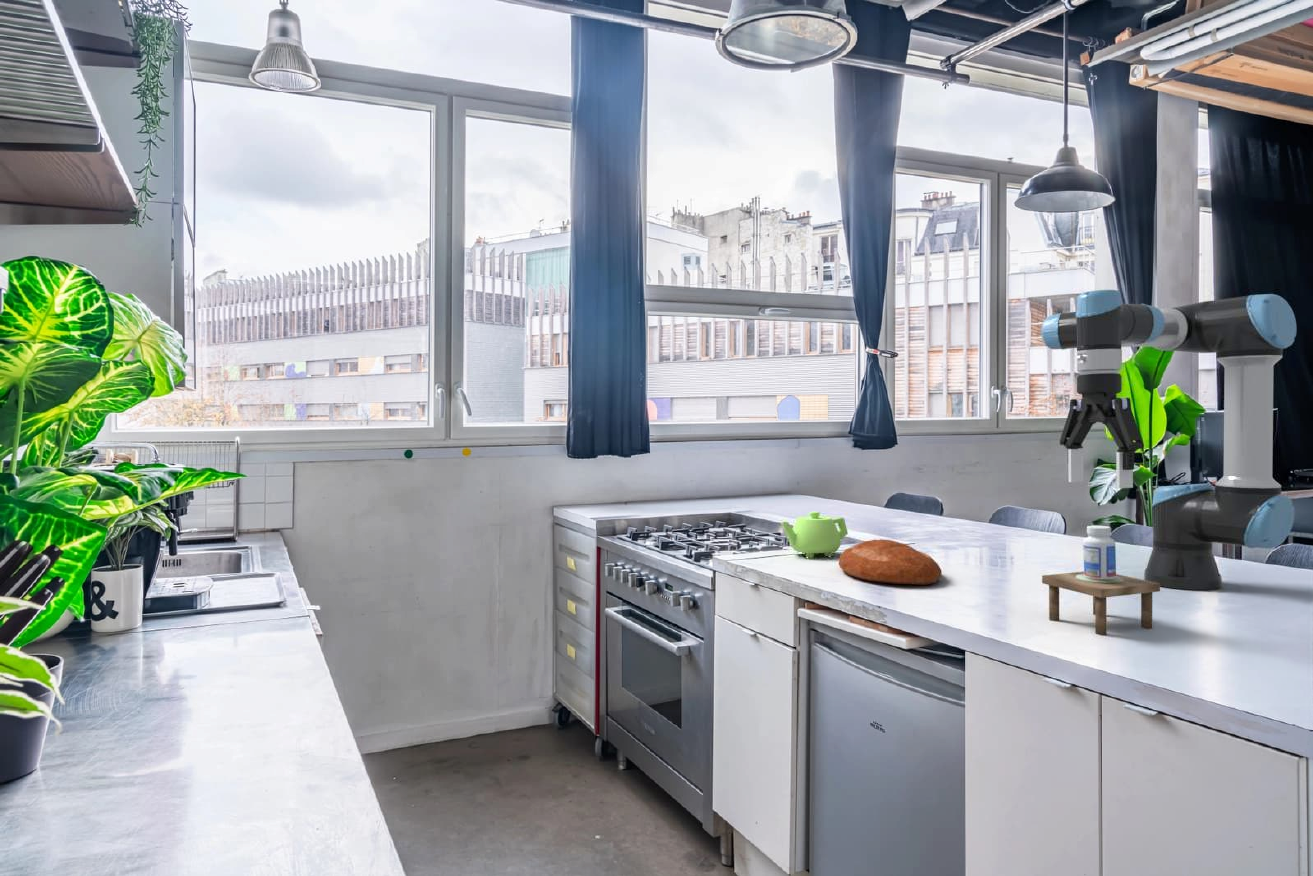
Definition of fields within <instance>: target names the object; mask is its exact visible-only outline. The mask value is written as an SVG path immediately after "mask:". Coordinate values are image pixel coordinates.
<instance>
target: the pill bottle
mask: <svg viewBox="0 0 1313 876" xmlns="http://www.w3.org/2000/svg"><path fill="white" fill-rule="evenodd" d="M1111 531H1112V530H1111V527H1110V526H1107V525H1106V526H1105V525H1087V526H1086V533H1087V535H1088V536H1087V537H1085V538H1084V539H1083V543H1082V544H1083V548H1082V550H1083V572H1084V576H1085V577H1086V578H1090V579H1097V580H1112V579H1115V578H1116V574H1117V558H1116V556H1117V554H1116V551H1117V550H1116V540H1114V539H1113V538H1111V536H1110V535H1112V532H1111Z"/></svg>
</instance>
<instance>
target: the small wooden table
mask: <svg viewBox="0 0 1313 876" xmlns="http://www.w3.org/2000/svg"><path fill="white" fill-rule="evenodd" d="M1041 583H1042V584H1044V585H1048V619H1049V620H1050V621H1053V622H1054V621H1055V622H1058V621H1060V589H1063V590H1067V591H1072V592H1075V593H1079V594H1084V595H1087V596H1090V597H1091V596H1092V615H1094V620H1095V621H1094V622H1095V623H1094V626H1095V627H1094V629H1095V630H1094V631H1095V634H1096V635H1100V636H1106V635H1107V627H1108V626H1107V598H1112V597H1113V598H1114V597H1120V596H1121V597H1122V596H1131V595H1139V594H1140V622H1141V623H1140V627H1141V628H1142V629H1146V630H1151V629H1152V630H1153V593H1157V592H1159V593H1160V592H1161V586H1160V583H1156V582H1151V581H1146V580H1144V579H1141V578H1137V577H1133V576H1132V577H1131V576H1128V575H1127V576H1126V575H1122V574H1118V573H1116V578H1115V579H1112V580H1097V579H1090V578H1086V577H1085V576H1084V571H1077V572H1076V571H1075V572H1065V573H1055V574H1054V573H1053V574H1045V575H1042V576H1041Z"/></svg>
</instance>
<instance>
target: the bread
mask: <svg viewBox="0 0 1313 876" xmlns="http://www.w3.org/2000/svg"><path fill="white" fill-rule="evenodd" d="M838 565H839V568H840V569H841V570H842V571H843V572H845V573H846V574H847V575H849V576H851V577H854V578H857V579H859V580H863V581H868V582H876V583H881V584H882V583H883V584H891V585H892V584H893V585H895V584H896V585H897V584H898V585H918V586H919V585H920V586H922V585H923V586H926V585H930V584H932V583H935V582H937V581H939V580H940V578H941V577H942V568H941V567H940V565H939V563H937V562H936V561H935V559H933V557H931V556H930V555H929V554H927V553H925V552H923V551H920V550H917V549H916V548H913V547H912V546H910V545H908V544H906V543H902V542H899V541H896V540H895V541H894V540H890V539H881V538H880V539H879V538H878V539H872V540H867V541H862V542H859V543H857V544H855V545H854V546H852V547H849V548H846V549H845V550H843V552H841V554H840V556H839V559H838Z"/></svg>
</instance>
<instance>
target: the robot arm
mask: <svg viewBox="0 0 1313 876" xmlns="http://www.w3.org/2000/svg"><path fill="white" fill-rule="evenodd" d="M1040 330H1041V339H1042V341H1043V344H1044V345H1045V346H1046V347H1047V348H1048V349H1051V350H1062V351H1063V350H1068V349H1076V371H1077V372H1078V373H1080V374H1078V375H1077V376H1076V393H1077V394H1078V395H1081V398H1077V399H1076V398H1072V399H1070V401H1069V411H1068V413H1067V417H1066V420H1065V424H1064V427H1063V430H1062V433H1061V436H1060V439H1059V445H1060V446H1064V447H1065V449H1067V464H1068V465H1067V466H1068V482H1069V483H1083V482H1084V447H1083V442H1084V441H1085V439H1086V438H1087V435H1088V434H1089V432H1090V431H1091V429H1092V427H1093V425H1094V424H1096V423H1101V424H1103V425H1105V428H1107V430H1108V432H1109V434H1110V435H1111V437H1112V439H1113V440H1114V442H1115V444H1116V446H1117V447H1118V449H1117V451H1116V457H1115V459H1116V460H1115V461H1116V462H1115V463H1116V466H1115V468H1116V474H1115V475H1116V476H1115V477H1116V478H1115V479H1116V488H1117V489H1132V488H1134V470H1135V453H1136V451H1138V450H1143V449H1144V447H1145V443H1144V440H1143V438H1142V435H1141V432H1140V429H1139V427H1138V424H1137V421H1136V419H1135V416H1134V413H1133V411H1132V403H1131V402H1132V401H1131V400H1132V399H1131V398H1130V397H1118V396H1117V394H1120V393H1121V392H1122V390H1123V389H1122V387H1123V386H1122V385H1123V384H1122V382H1123V380H1122V378H1123V377H1122V376H1123V375H1121V373H1119V371H1122V369H1123V359H1122V357H1123V355H1122V352H1123V351H1122V348H1127V347H1128V348H1130V347H1131V348H1132V347H1133V348H1134V347H1135V348H1136V347H1141V348H1142V347H1152V348H1154V349H1155V350H1159V351H1165V352H1166V351H1172V352H1174V351H1175V352H1182V353H1183V352H1185V353H1194V354H1195V353H1198V354H1199V353H1200V354H1214V353H1215V354H1216V355H1215V357H1216V361H1217V362H1218V363H1219V364H1221V366H1223V368H1224V376H1223V377H1224V378H1223V379H1224V381H1223V382H1224V386H1223V388H1224V390H1223V391H1224V394H1223V395H1224V396H1223V399H1224V400H1223V402H1224V403H1223V408H1224V409H1223V475H1222V477H1221V478H1220V479H1219V480H1218V481H1216V482H1215V483H1214V484H1215V485H1214V486H1213V484H1212V483H1195V484H1194V483H1191V484H1178V485H1177V484H1176V485H1167V486H1166V485H1164V486H1159V487H1156V488H1155V489H1154V491H1153V495H1152V504H1151V508H1152V550H1151V554H1150V556H1149V559H1148V562H1147V565H1146V568H1145V569H1144V573H1143V574H1144V576H1143V577H1144V578H1143V580H1146V581H1151V582H1156V583H1160V587H1164V588H1169V589H1170V588H1171V589H1179V590H1180V589H1181V590H1199V591H1200V590H1201V591H1203V590H1205V591H1206V590H1207V591H1209V590H1217V589H1221V588H1222V587H1223V586H1222V583H1223V582H1222V579H1223V578H1222V575H1221V573H1220V571H1219V568H1218V564H1217V562H1216V561H1217V560H1216V559H1215V557H1214V554H1213V543H1214V544H1217V543H1218V544H1221V545H1222V544H1223V545H1224V544H1225V545H1231V546H1238V547H1239V546H1240V547H1246V548H1249V549H1254V548H1259V549H1274V548H1276V547H1278V546H1280V545H1281V544H1282V543H1284V542H1285V540H1286V539H1287V537H1288V536H1289V534H1290V532H1291V530H1292V529H1293V528H1292V527H1293V524H1294V521H1295V506H1294V505H1293V501H1292V499H1291V498H1290V497H1289V496H1288V495H1285V494H1282V485H1281V484H1280V483H1279V482H1277V481H1276V480H1275V479H1274V478H1273V456H1274V455H1273V448H1274V447H1273V446H1274V445H1273V444H1274V443H1273V442H1274V440H1273V438H1274V437H1273V435H1274V434H1273V433H1274V366H1275V364H1277V363H1278V362H1279V361H1280V360H1281V359H1283V351H1284V350H1283V349H1287V348H1288V347H1290V346H1292V345H1293V343H1294V342H1295V338H1296V336H1297V321H1296V317H1295V313H1294V311H1293V309H1292V307H1291V306H1290V305H1289V303H1288V301H1287V300H1285V298H1283V297H1282V296H1280V295H1278V294H1274V293H1268V294H1267V293H1265V294H1251V295H1245V296H1237V297H1228V298H1223V299H1222V298H1221V299H1217V300H1216V299H1214V300H1206V301H1205V300H1204V301H1200V302H1199V301H1198V302H1195V303H1190V304H1186V305H1181V306H1177V307H1163V308H1160V309H1159V308H1158V307H1156V306H1153V305H1149V304H1145V303H1140V304H1137V303H1123V299H1122V293H1121V292H1120V291H1119V290H1116V289H1099V290H1090V291H1085V292H1082V293H1080V294H1079V295H1078V296H1077V298H1076V311H1071V312H1060V313H1056V314H1052V315H1049V316H1048V317H1046V318H1045V319H1044V321H1043V323H1042V325H1041V329H1040ZM1214 489H1215V490H1214Z"/></svg>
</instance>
